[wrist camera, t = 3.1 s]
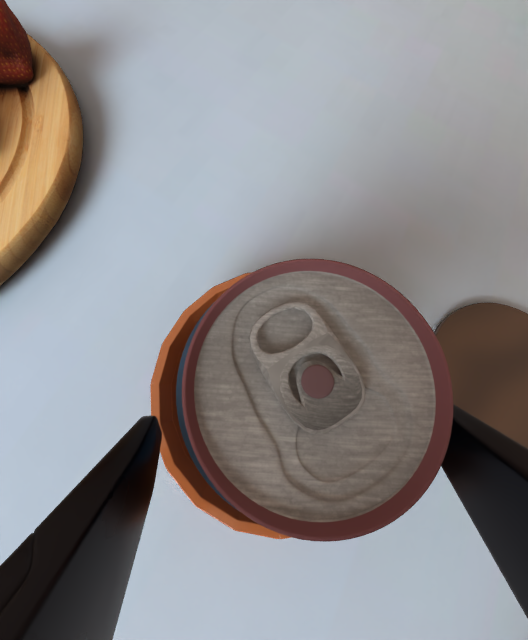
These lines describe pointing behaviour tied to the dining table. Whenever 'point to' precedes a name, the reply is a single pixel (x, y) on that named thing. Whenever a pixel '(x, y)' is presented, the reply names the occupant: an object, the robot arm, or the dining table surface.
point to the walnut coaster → (489, 365)
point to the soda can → (315, 400)
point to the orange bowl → (172, 439)
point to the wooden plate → (33, 143)
